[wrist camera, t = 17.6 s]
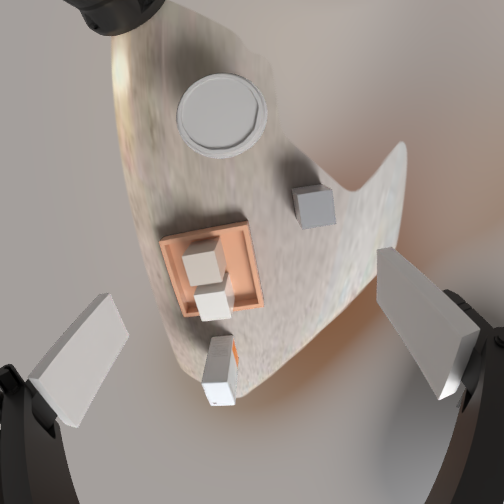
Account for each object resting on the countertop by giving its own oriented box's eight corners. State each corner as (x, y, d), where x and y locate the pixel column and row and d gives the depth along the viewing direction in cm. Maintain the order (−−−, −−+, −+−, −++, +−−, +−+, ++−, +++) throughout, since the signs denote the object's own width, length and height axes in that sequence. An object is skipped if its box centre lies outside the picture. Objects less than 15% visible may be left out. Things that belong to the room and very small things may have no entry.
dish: (164, 236, 42) (158, 241, 39) (248, 220, 40) (247, 224, 38) (187, 309, 46) (183, 317, 44) (263, 298, 45) (263, 306, 43)
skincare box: (239, 358, 50) (235, 405, 39) (218, 359, 50) (210, 406, 39) (233, 333, 48) (227, 382, 37) (210, 335, 48) (199, 383, 37)
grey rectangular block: (291, 188, 39) (297, 194, 33) (321, 184, 38) (332, 189, 33) (296, 218, 40) (302, 229, 35) (325, 213, 40) (336, 223, 34)
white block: (201, 276, 43) (193, 295, 38) (228, 272, 43) (224, 291, 37) (208, 301, 45) (202, 321, 39) (234, 297, 44) (231, 317, 39)
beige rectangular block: (191, 242, 41) (181, 256, 36) (220, 236, 41) (214, 250, 35) (199, 268, 43) (190, 286, 37) (226, 264, 42) (222, 281, 37)
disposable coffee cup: (235, 170, 38) (225, 177, 27) (184, 130, 36) (155, 123, 25) (278, 120, 35) (287, 107, 24) (227, 81, 33) (214, 53, 22)
